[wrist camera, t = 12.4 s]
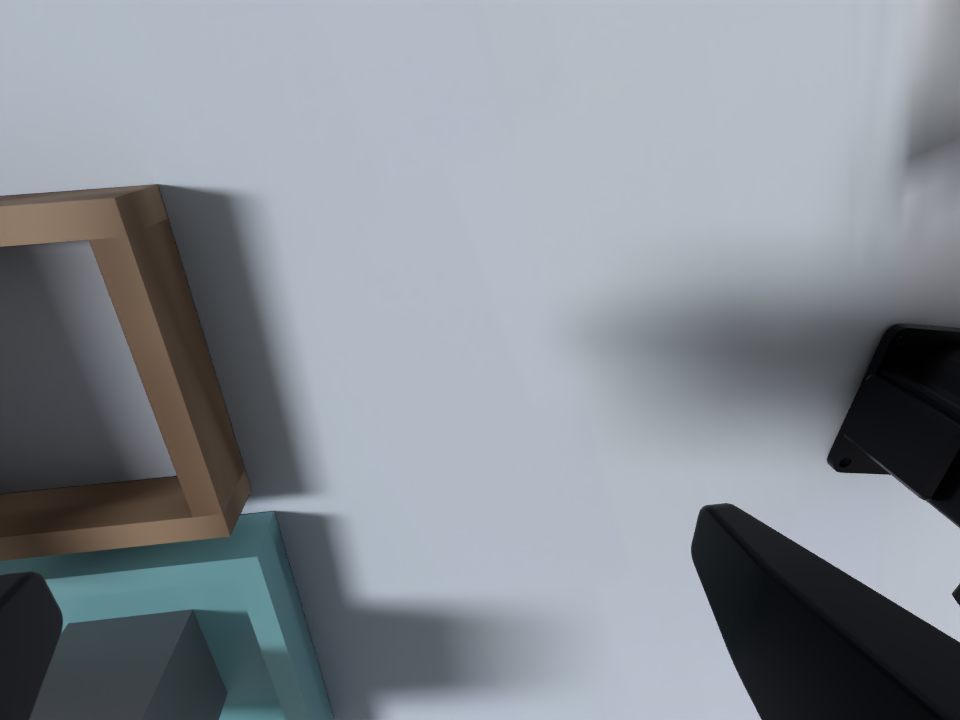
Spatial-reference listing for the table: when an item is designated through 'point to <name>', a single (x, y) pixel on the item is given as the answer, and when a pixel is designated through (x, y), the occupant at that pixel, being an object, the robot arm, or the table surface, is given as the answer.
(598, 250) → the table surface
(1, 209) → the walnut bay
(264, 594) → the teal tray
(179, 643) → the grey lidded box
